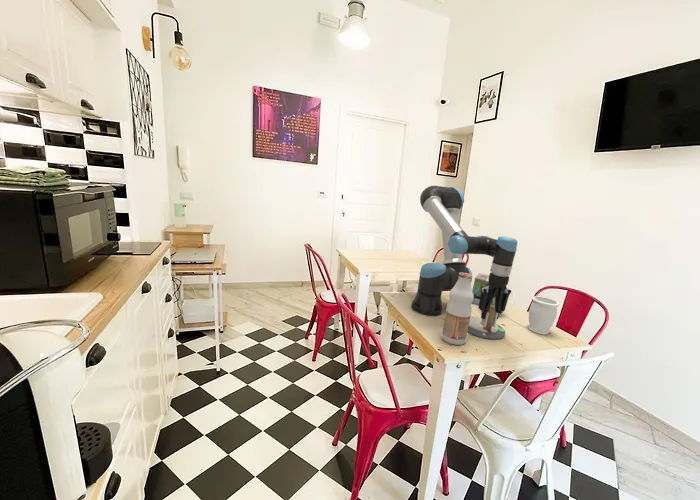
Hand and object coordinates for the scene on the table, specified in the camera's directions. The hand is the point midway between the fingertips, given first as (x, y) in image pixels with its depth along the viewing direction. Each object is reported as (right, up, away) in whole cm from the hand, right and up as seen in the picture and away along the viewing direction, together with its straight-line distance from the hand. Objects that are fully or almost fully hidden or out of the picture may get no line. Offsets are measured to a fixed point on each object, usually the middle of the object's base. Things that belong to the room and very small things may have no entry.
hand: (487, 325), depth 133 cm
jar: (+28, -5, +10) cm, 30 cm away
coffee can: (+14, 0, +27) cm, 30 cm away
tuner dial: (-1, -2, +5) cm, 5 cm away
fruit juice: (-17, -4, -7) cm, 19 cm away
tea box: (+15, +3, +42) cm, 44 cm away
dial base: (-1, -3, +6) cm, 7 cm away
